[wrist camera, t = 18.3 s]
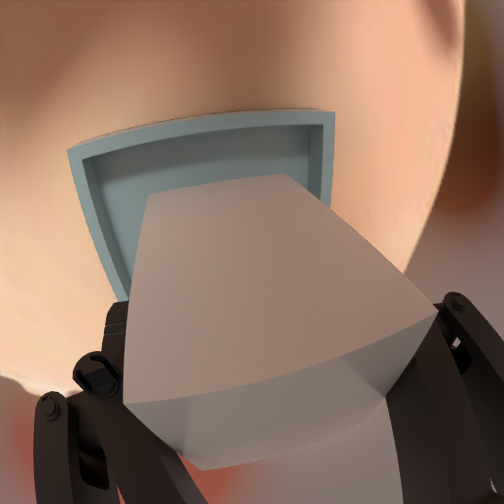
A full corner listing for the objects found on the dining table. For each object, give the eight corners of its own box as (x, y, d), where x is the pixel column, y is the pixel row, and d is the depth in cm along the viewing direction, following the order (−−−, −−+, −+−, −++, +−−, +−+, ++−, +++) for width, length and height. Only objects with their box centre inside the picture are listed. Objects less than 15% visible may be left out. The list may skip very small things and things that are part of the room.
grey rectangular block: (148, 194, 11) (123, 403, 3) (284, 173, 12) (438, 310, 4) (176, 300, 14) (202, 470, 7) (283, 278, 15) (364, 421, 8)
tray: (153, 346, 24) (153, 367, 22) (81, 141, 13) (66, 150, 11) (303, 313, 27) (313, 331, 25) (315, 108, 16) (334, 112, 14)
